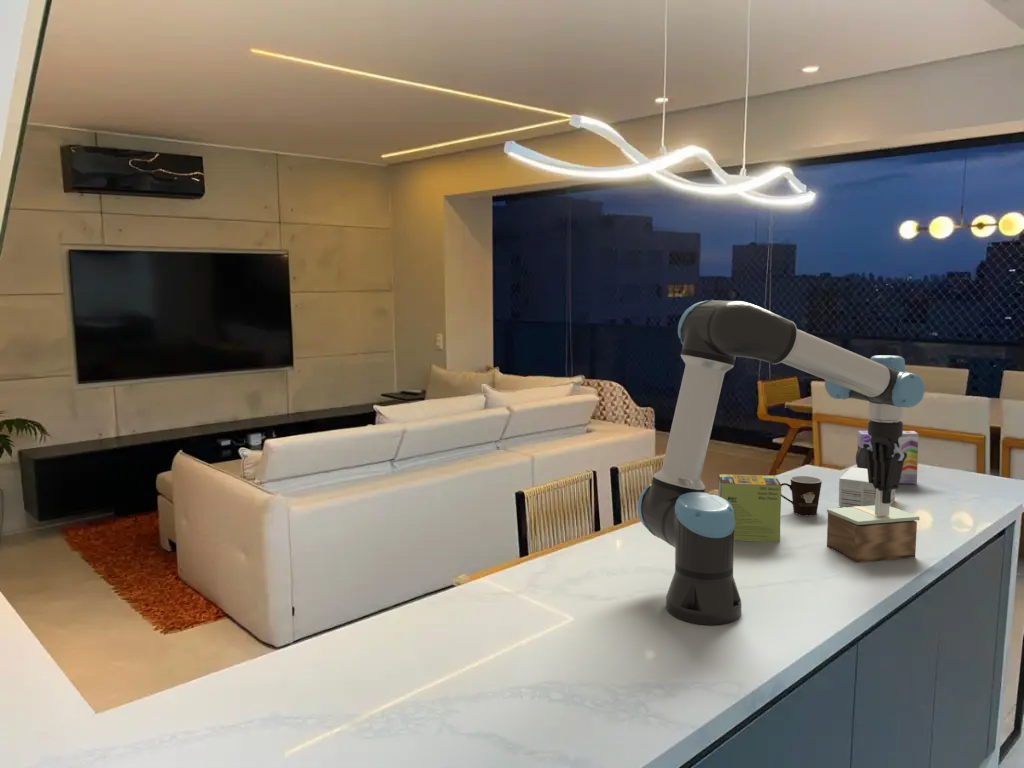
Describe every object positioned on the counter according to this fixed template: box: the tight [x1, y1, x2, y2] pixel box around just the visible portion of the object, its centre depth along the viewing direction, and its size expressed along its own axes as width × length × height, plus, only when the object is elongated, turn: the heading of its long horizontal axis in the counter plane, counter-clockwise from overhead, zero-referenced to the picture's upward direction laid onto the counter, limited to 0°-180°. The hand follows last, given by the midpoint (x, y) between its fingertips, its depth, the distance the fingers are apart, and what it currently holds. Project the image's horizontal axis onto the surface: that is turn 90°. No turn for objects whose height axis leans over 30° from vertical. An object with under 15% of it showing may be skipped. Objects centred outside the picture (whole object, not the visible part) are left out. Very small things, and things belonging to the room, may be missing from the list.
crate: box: [826, 512, 918, 564], centre depth 186 cm, size 16×12×9 cm
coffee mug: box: [780, 475, 823, 517], centre depth 221 cm, size 12×9×10 cm
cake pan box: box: [855, 430, 919, 484], centre depth 252 cm, size 19×5×18 cm, turn 81°
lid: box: [826, 505, 920, 525], centre depth 185 cm, size 17×12×1 cm
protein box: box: [717, 474, 782, 543], centre depth 200 cm, size 10×15×16 cm
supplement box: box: [838, 466, 896, 508], centre depth 228 cm, size 17×13×9 cm
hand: (881, 514), depth 182 cm, fingers closed
